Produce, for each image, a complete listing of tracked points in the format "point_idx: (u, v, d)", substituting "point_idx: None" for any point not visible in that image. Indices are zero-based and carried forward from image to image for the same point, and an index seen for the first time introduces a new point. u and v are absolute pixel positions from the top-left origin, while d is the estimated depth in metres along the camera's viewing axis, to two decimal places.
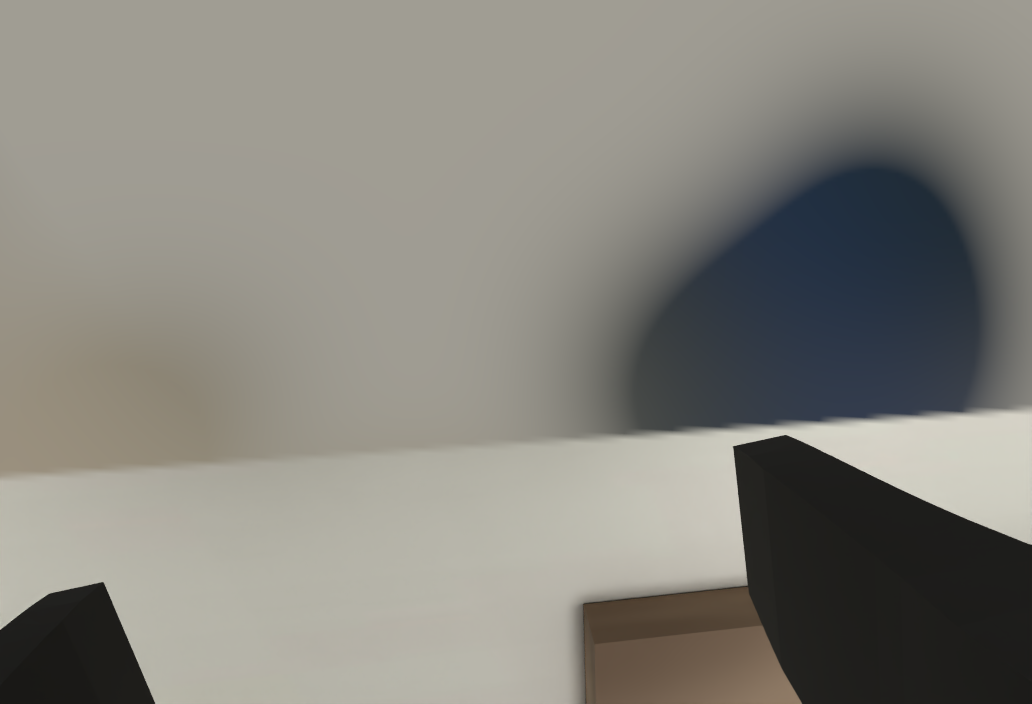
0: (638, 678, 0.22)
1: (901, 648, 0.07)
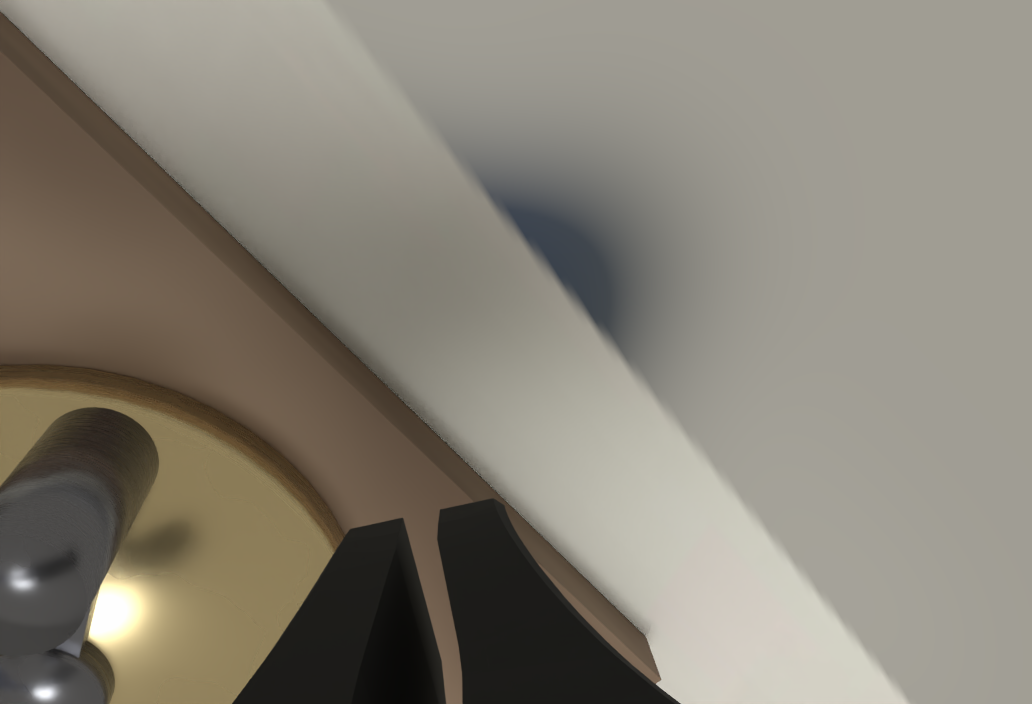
0: None
1: None
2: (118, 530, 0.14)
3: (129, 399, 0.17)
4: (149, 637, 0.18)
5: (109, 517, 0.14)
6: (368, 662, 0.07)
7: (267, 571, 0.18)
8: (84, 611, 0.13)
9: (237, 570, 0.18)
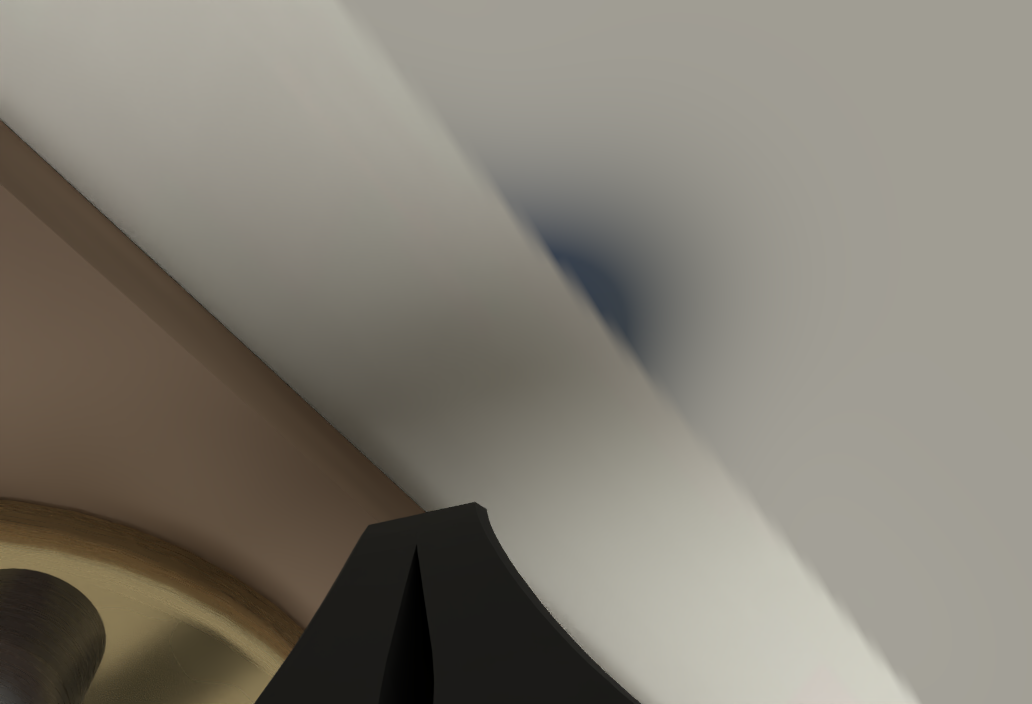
0: None
1: None
2: None
3: (65, 550, 0.12)
4: None
5: None
6: (393, 656, 0.07)
7: None
8: None
9: None
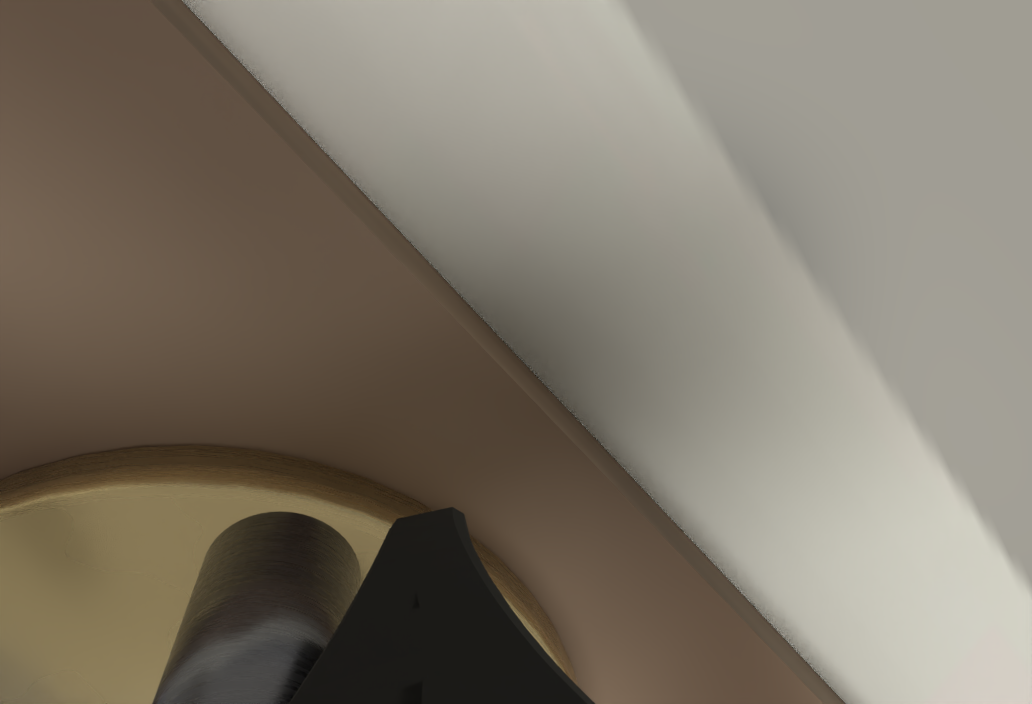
0: (45, 33, 0.11)
1: None
2: None
3: (319, 496, 0.12)
4: None
5: None
6: None
7: None
8: None
9: None
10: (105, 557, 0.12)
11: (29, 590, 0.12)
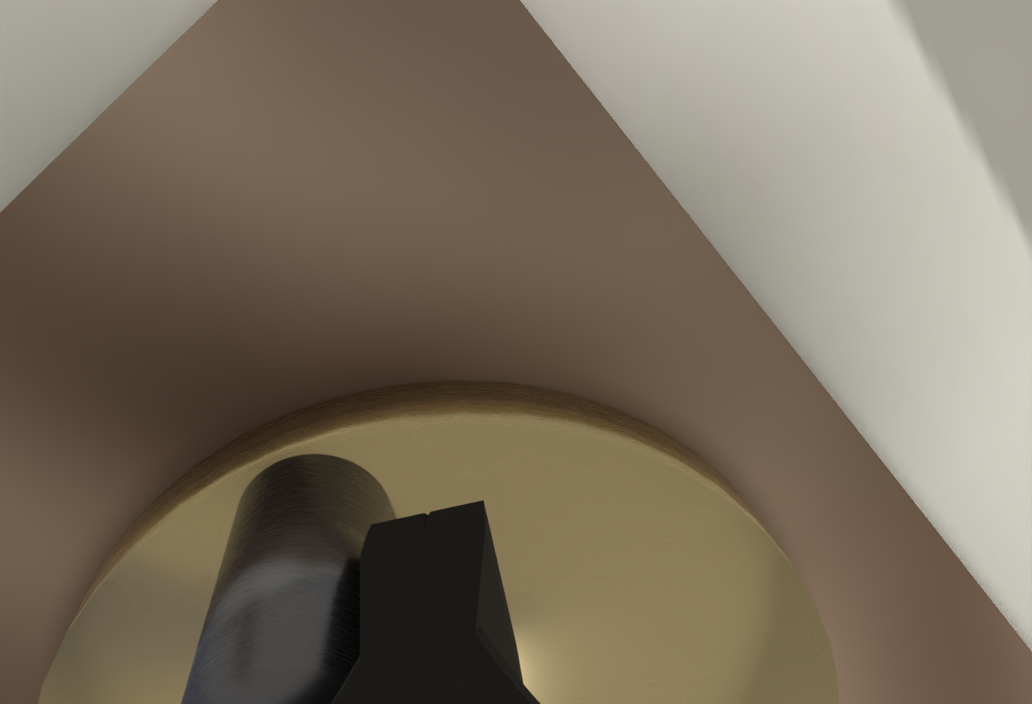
0: None
1: None
2: None
3: (298, 436, 0.12)
4: None
5: (344, 581, 0.09)
6: None
7: (592, 521, 0.13)
8: None
9: (559, 542, 0.13)
10: (171, 596, 0.12)
11: (143, 658, 0.12)
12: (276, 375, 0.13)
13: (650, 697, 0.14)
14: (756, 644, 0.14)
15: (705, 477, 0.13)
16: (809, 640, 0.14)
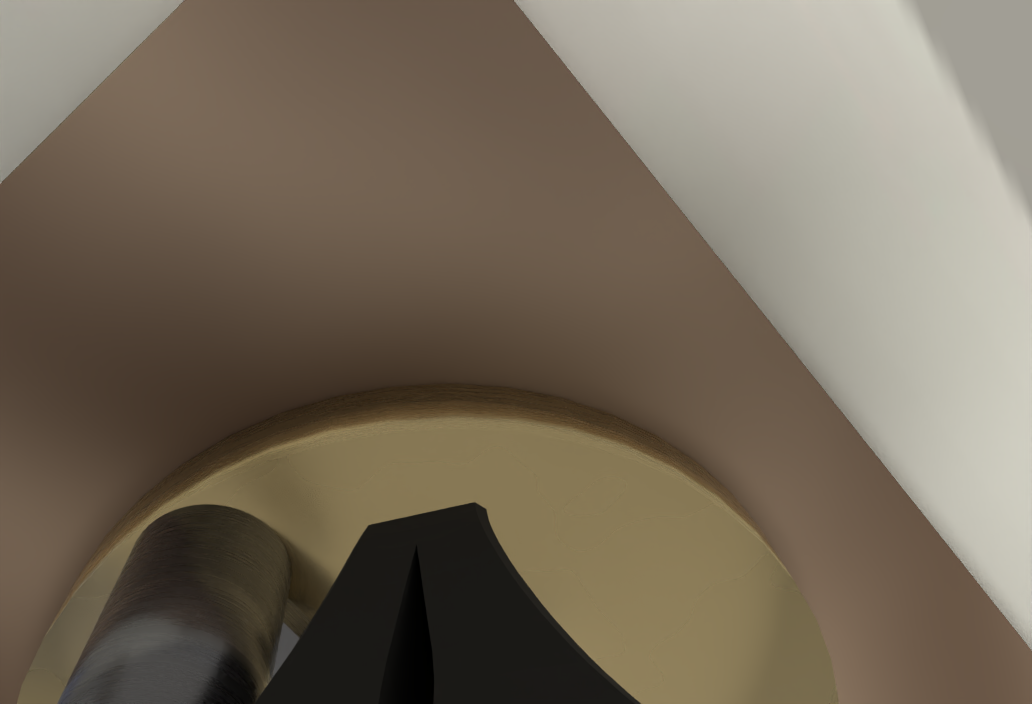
0: None
1: None
2: (217, 642, 0.09)
3: (176, 490, 0.12)
4: None
5: (179, 642, 0.09)
6: (394, 657, 0.07)
7: (494, 512, 0.12)
8: None
9: None
10: None
11: None
12: (258, 376, 0.13)
13: (615, 674, 0.13)
14: (713, 598, 0.13)
15: (609, 439, 0.12)
16: (769, 583, 0.13)
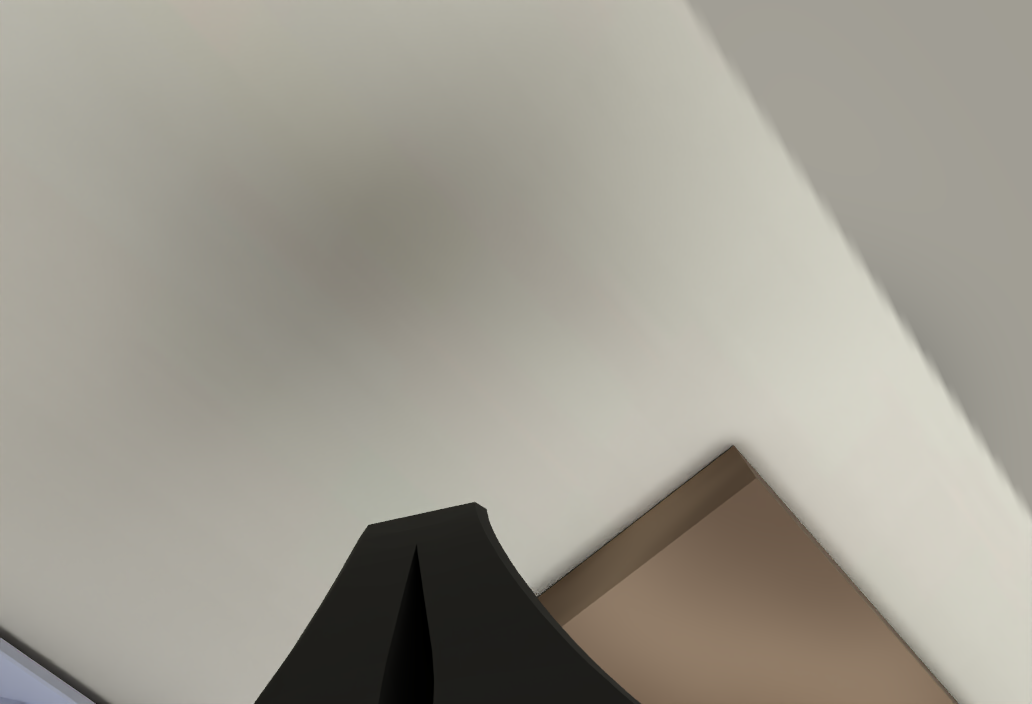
0: (740, 540, 0.20)
1: None
2: None
3: None
4: None
5: None
6: (393, 657, 0.07)
7: None
8: None
9: None
10: None
11: None
12: None
13: None
14: None
15: None
16: None
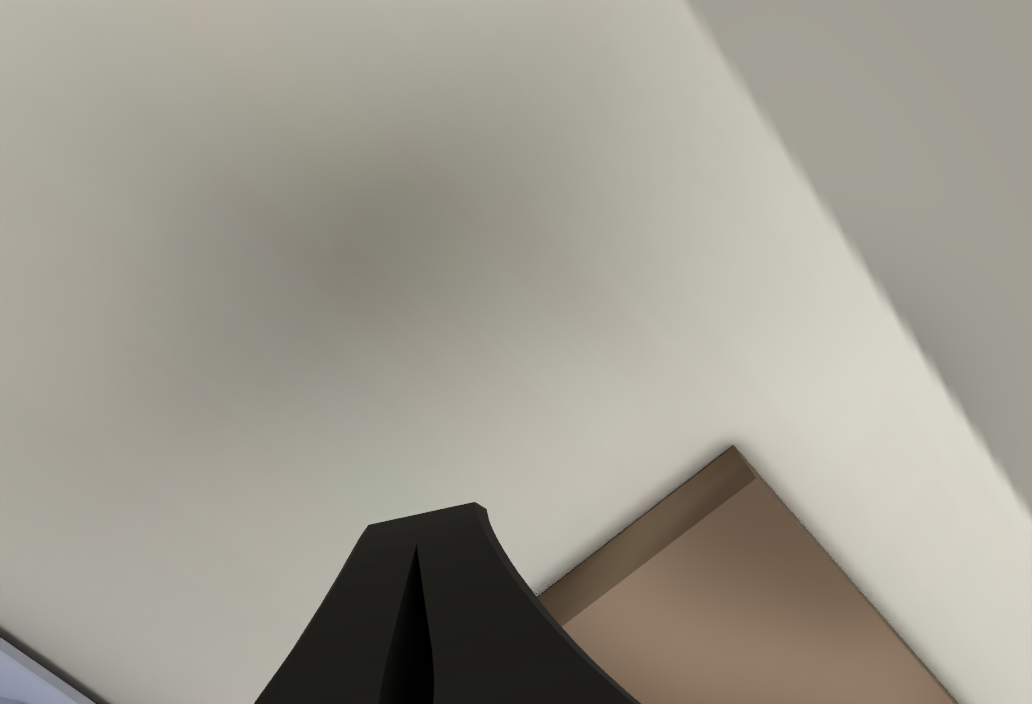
0: (740, 540, 0.20)
1: None
2: None
3: None
4: None
5: None
6: (393, 657, 0.07)
7: None
8: None
9: None
10: None
11: None
12: None
13: None
14: None
15: None
16: None
